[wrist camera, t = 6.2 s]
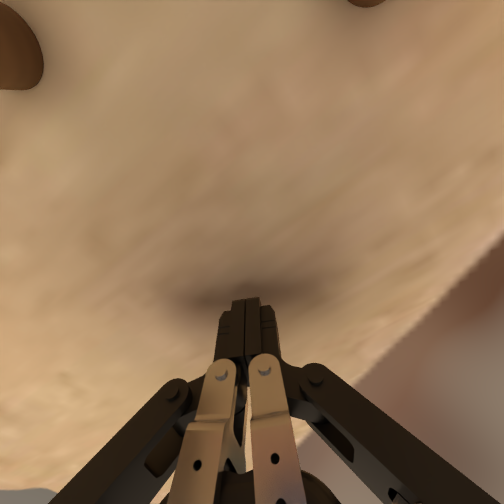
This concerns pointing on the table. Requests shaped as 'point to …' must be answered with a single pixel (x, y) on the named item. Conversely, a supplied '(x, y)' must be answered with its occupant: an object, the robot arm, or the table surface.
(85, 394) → the table surface
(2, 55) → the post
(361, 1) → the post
